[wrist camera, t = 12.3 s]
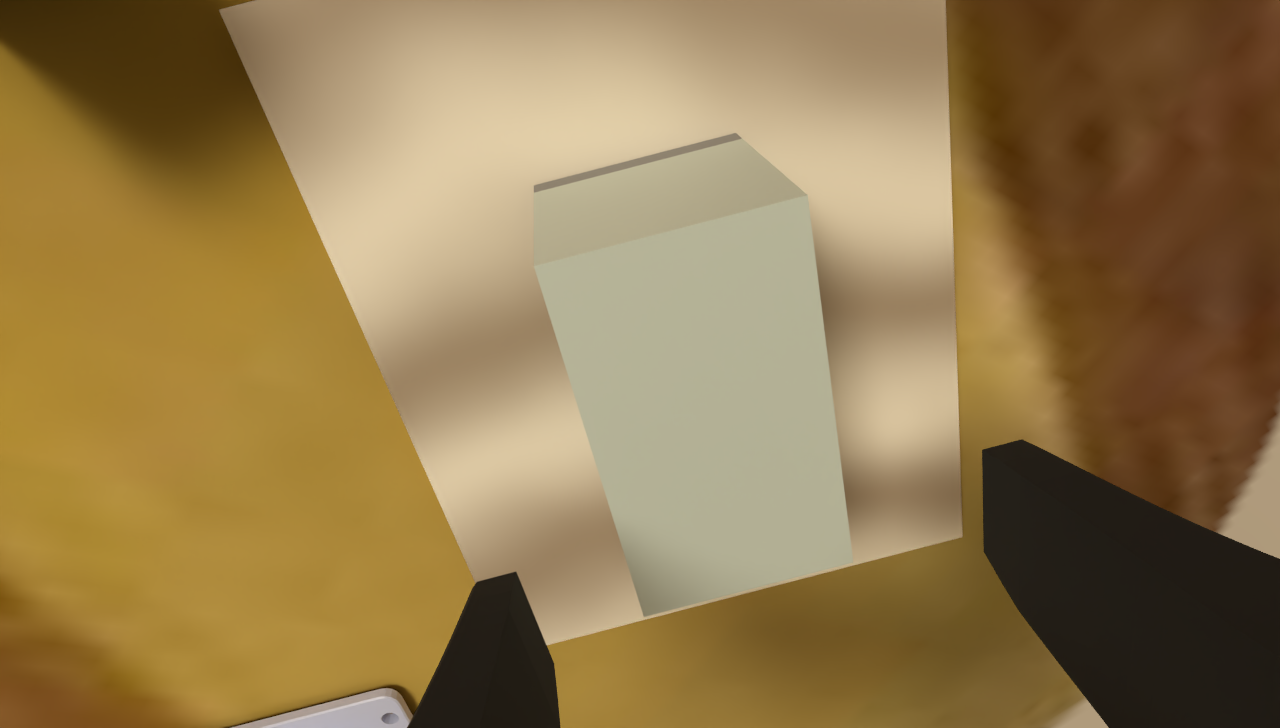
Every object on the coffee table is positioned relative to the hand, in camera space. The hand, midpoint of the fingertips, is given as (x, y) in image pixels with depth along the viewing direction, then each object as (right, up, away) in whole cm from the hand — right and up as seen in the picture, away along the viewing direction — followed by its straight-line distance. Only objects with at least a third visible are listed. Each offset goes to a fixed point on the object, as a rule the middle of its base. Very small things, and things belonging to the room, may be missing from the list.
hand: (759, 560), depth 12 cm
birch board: (-1, +4, +8) cm, 9 cm away
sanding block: (-1, +4, +7) cm, 8 cm away
